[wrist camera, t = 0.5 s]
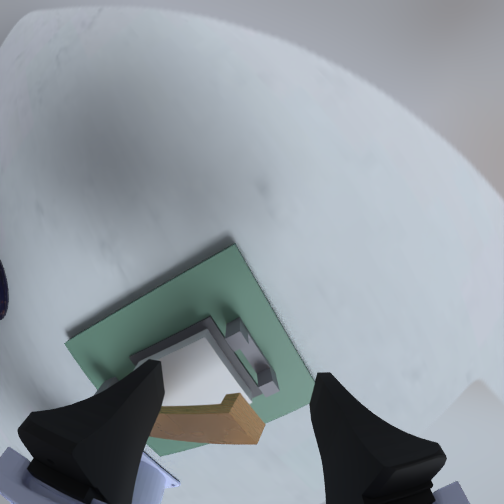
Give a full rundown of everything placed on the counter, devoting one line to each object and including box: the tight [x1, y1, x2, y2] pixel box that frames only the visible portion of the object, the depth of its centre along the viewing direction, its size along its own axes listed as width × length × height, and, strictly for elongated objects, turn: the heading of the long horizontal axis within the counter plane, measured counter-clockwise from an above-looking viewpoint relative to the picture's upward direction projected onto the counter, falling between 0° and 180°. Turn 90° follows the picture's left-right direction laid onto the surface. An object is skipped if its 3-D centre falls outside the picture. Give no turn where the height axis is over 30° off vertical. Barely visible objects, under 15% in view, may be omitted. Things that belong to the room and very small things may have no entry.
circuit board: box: [64, 243, 315, 456], centre depth 20 cm, size 19×16×5 cm
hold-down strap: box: [149, 393, 265, 444], centre depth 16 cm, size 15×3×2 cm, turn 119°
